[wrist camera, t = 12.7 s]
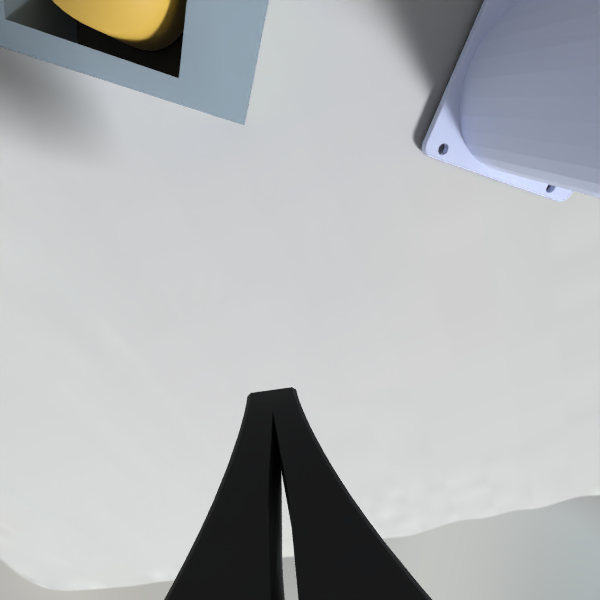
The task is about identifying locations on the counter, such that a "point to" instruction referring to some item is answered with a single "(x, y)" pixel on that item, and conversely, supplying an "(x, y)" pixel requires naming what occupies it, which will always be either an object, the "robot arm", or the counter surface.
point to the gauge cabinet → (184, 90)
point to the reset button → (131, 19)
